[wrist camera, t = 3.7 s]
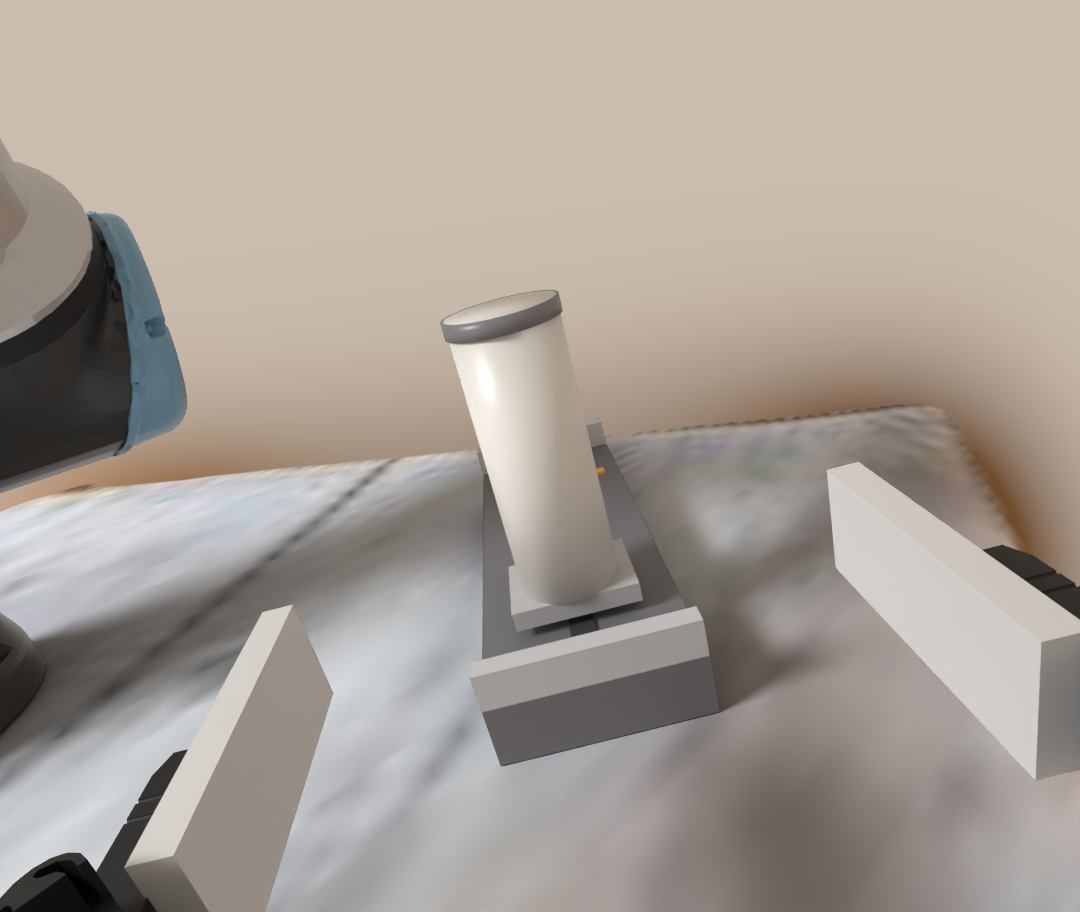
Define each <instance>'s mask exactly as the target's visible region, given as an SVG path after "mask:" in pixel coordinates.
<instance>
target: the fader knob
mask: <svg viewBox="0 0 1080 912" xmlns="http://www.w3.org/2000/svg"><path fill="white" fill-rule="evenodd" d="M561 312H562V306H561V301H560V297H559V293H558V291H556V290H540V291H533V292H526V293H521V294H516V295H511V296H507V297H503V298H499V299H495V300H492V301H488V302H484V303H481V304H478V305H475V306H472V307H469V308H466V309H464V310H461V311H459V312H456V313H454V314H452V315H450V316H448V317H446V318H445V319H443V320H442V321H441V322H440V324H441V327H442V331H443V334H444V337H445V341H446V342H448V343H449V344H450V347H451V350H452V354H453V357H454V361H455V364H456V367H457V371H458V374H459V377H460V381H461V384H462V388H463V391H464V394H465V398H466V401H467V405H468V408H469V411H470V414H471V418H472V421H473V425H474V428H475V431H476V435H477V438H478V442H479V445H480V448H481V452H482V455H483V458H484V462H485V465H486V468H487V472H488V475H489V479H490V482H491V485H492V489H493V492H494V495H495V499H496V502H497V505H498V509H499V512H500V516H501V519H502V522H503V526H504V529H505V532H506V536H507V539H508V542H509V546H510V549H511V553H512V556H513V559H514V563H515V565H513V566H509V583H510V600H511V615H512V618H513V622H514V625H515V628H516V631H517V632H519V631H523V630H526V629H530V628H534V627H538V626H542V625H546V624H550V623H554V622H558V621H562V620H566V619H570V618H574V617H578V616H582V615H586V614H590V613H594V612H598V611H602V610H606V609H610V608H614V607H618V606H622V605H626V604H630V603H634V602H638V601H642V600H643V597H642V593H641V588H640V584H639V581H638V578H637V576H636V573H635V571H634V568H633V566H632V563H631V561H630V558H629V556H628V553H627V551H626V548H625V546H624V543H623V541H622V538H620V539H616V540H613V539H612V535H611V531H610V526H609V522H608V518H607V513H606V509H605V505H604V500H603V496H602V492H601V487H600V483H599V479H598V474H597V470H596V466H595V461H594V457H593V453H592V448H591V444H590V440H589V435H588V431H587V427H586V422H585V418H584V414H583V409H582V405H581V401H580V397H579V392H578V388H577V384H576V379H575V375H574V371H573V366H572V362H571V358H570V353H569V349H568V345H567V340H566V336H565V332H564V327H563V323H562V319H561V315H560V313H561Z"/></svg>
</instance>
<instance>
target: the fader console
mask: <svg viewBox="0 0 1080 912" xmlns="http://www.w3.org/2000/svg"><path fill="white" fill-rule="evenodd" d="M585 422H586V427H587V431H588V435H589V440H590V444H591V448H592V453H593V457H594V461H595V466H596V470H597V474H598V479H599V483H600V487H601V492H602V496H603V500H604V505H605V509H606V513H607V518H608V522H609V526H610V531H611V535H612V539H613V540H616V539H620V538H622V541H623V543H624V546H625V548H626V551H627V553H628V556H629V558H630V561H631V563H632V566H633V568H634V571H635V573H636V576H637V578H638V581H639V584H640V588H641V593H642V597H643V600H642V601H638V602H634V603H630V604H626V605H622V606H618V607H614V608H610V609H606V610H602V611H598V612H594V613H590V614H586V615H582V616H578V617H574V618H570V619H566V620H562V621H558V622H554V623H550V624H546V625H542V626H538V627H534V628H530V629H526V630H523V631H519V632H517V631H516V628H515V625H514V622H513V618H512V615H511V600H510V583H509V566H513V565H515V563H514V559H513V556H512V553H511V549H510V546H509V542H508V539H507V536H506V532H505V529H504V526H503V522H502V519H501V516H500V512H499V509H498V505H497V502H496V499H495V495H494V492H493V489H492V485H491V482H490V479H489V475H488V472H487V468H486V465H485V462H484V458H483V455H482V452H481V448H480V449H477V454H478V458H479V461H480V464H481V468H482V471H483V474H484V505H483V641H482V660H479V661H475V662H471V663H470V680H471V683H472V686H473V688H474V691H475V694H476V697H477V700H478V703H479V705H480V708H481V711H482V714H483V717H484V720H485V722H486V725H487V728H488V731H489V734H490V737H491V739H492V742H493V745H494V748H495V751H496V754H497V757H498V759H499V762H500V765H501V766H503V765H507V764H511V763H515V762H519V761H523V760H527V759H531V758H535V757H539V756H544V755H548V754H552V753H556V752H560V751H564V750H568V749H572V748H576V747H580V746H584V745H588V744H592V743H596V742H600V741H604V740H608V739H612V738H616V737H620V736H624V735H628V734H632V733H636V732H640V731H644V730H648V729H652V728H656V727H660V726H664V725H668V724H672V723H677V722H681V721H685V720H689V719H693V718H697V717H701V716H705V715H709V714H713V713H717V712H720V708H719V703H718V697H717V692H716V687H715V681H714V676H713V670H712V665H711V659H710V654H709V648H708V643H707V637H706V632H705V627H704V621H703V618H702V616H701V614H700V612H699V610H698V609H697V607H696V606H694V607H690V608H686V606H685V604H684V602H683V600H682V598H681V596H680V594H679V592H678V590H677V587H676V585H675V583H674V581H673V579H672V577H671V575H670V573H669V571H668V569H667V567H666V565H665V563H664V561H663V559H662V557H661V555H660V553H659V551H658V549H657V547H656V545H655V543H654V540H653V538H652V536H651V534H650V532H649V530H648V528H647V526H646V524H645V522H644V520H643V518H642V516H641V514H640V512H639V510H638V508H637V506H636V504H635V502H634V500H633V498H632V496H631V494H630V491H629V489H628V487H627V485H626V483H625V481H624V479H623V477H622V475H621V473H620V471H619V469H618V467H617V465H616V463H615V461H614V459H613V457H612V455H611V453H610V451H609V449H608V447H607V444H606V441H605V437H604V432H603V428H602V424H601V420H600V418H597V419H593V420H589V421H585Z"/></svg>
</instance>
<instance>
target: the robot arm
mask: <svg viewBox="0 0 1080 912" xmlns="http://www.w3.org/2000/svg"><path fill="white" fill-rule="evenodd" d="M186 409H187V395H186V389H185V383H184V379H183V375H182V371H181V367H180V363H179V360H178V357H177V353H176V349H175V346H174V344H173V340H172V337H171V334H170V332H169V330H168V327H167V326H166V325H165V318H164V315H163V312H162V309H161V305H160V301H159V298H158V295H157V292H156V289H155V286H154V284H153V281H152V278H151V276H150V273H149V271H148V268H147V266H146V263H145V261H144V258H143V256H142V253H141V251H140V249H139V247H138V244H137V242H136V240H135V238H134V236H133V234H132V232H131V230H130V229H129V227H128V225H127V224H126V223H125V221H124V220H123V219H122V218H120V217H119V216H117V215H114V214H109V213H104V214H98V213H96V212H92V211H89V212H87V213H85V211H84V209H83V208H82V206H81V204H80V203H79V202H78V201H77V199H76V198H75V197H74V196H73V195H72V194H71V193H70V191H69V190H68V189H67V188H66V187H65V186H63V185H62V184H61V183H59V182H58V181H57V180H55V179H54V178H52V177H51V176H49V175H47V174H45V173H43V172H41V171H39V170H37V169H35V168H32V167H30V166H27V165H24V164H22V163H18V162H14V161H12V158H11V157H10V155H9V153H8V152H7V150H6V148H5V146H4V145H3V143H2V141H1V139H0V493H3V492H6V491H9V490H12V489H15V488H18V487H21V486H24V485H27V484H30V483H33V482H36V481H39V480H42V479H45V478H48V477H51V476H54V475H57V474H60V473H63V472H66V471H69V470H72V469H75V468H78V467H81V466H84V465H87V464H90V463H93V462H96V461H99V460H102V459H105V458H108V457H111V456H120V455H123V454H125V453H126V452H128V451H129V450H130V449H131V448H132V447H133V446H135V445H138V444H140V443H143V442H145V441H148V440H150V439H153V438H155V437H158V436H161V435H163V434H165V433H168V432H170V431H172V430H173V429H175V428H176V427H177V426H178V425H179V424H180V422H181V421H182V419H183V418H184V416H185V413H186ZM827 478H828V489H829V500H830V511H831V522H832V533H833V544H834V555H835V566H836V569H837V570H838V571H839V572H840V573H841V574H842V575H843V576H844V577H845V578H846V579H847V580H848V581H849V582H850V583H851V585H852V586H853V587H854V588H855V589H856V590H857V591H858V592H859V593H860V594H861V595H862V596H863V597H864V598H865V599H866V600H867V602H868V603H869V604H870V605H871V606H872V607H873V608H874V609H875V610H876V611H877V612H878V613H879V614H880V615H881V616H882V618H883V619H884V620H885V621H886V622H887V623H888V624H889V625H890V626H891V627H892V628H893V629H894V630H895V631H896V632H897V633H898V635H899V636H900V637H901V638H902V639H903V640H904V641H905V642H906V643H907V644H908V645H909V646H910V647H911V648H912V649H913V650H914V652H915V653H916V654H917V655H918V656H919V657H920V658H921V659H922V660H923V661H924V662H925V663H926V664H927V665H928V666H929V668H930V669H931V670H932V671H933V672H934V673H935V674H936V675H937V676H938V677H939V678H940V679H941V680H942V681H943V682H944V683H945V685H946V686H947V687H948V688H949V689H950V690H951V691H952V692H953V693H954V694H955V695H956V696H957V697H958V698H959V699H960V700H961V702H962V703H963V704H964V705H965V706H966V707H967V708H968V709H969V710H970V711H971V712H972V713H973V714H974V715H975V716H976V718H977V719H978V720H979V721H980V722H981V723H982V724H983V725H984V726H985V727H986V728H987V729H988V730H989V731H990V732H991V733H992V735H993V736H994V737H995V738H996V739H997V740H998V741H999V742H1000V743H1001V744H1002V745H1003V746H1004V747H1005V748H1006V749H1007V750H1008V752H1009V753H1010V754H1011V755H1012V756H1013V757H1014V758H1015V759H1016V760H1017V761H1018V762H1019V763H1020V764H1021V765H1022V766H1023V768H1024V769H1025V770H1026V771H1027V772H1028V773H1029V774H1030V775H1031V776H1032V777H1033V778H1034V779H1035V780H1039V779H1043V778H1047V777H1051V776H1055V775H1059V774H1063V773H1068V772H1072V771H1076V770H1080V586H1079V587H1076V585H1075V583H1074V582H1072V581H1071V580H1069V579H1068V578H1066V577H1065V576H1063V575H1062V574H1057V573H1056V571H1055V570H1054V569H1053V568H1051V567H1049V566H1048V565H1047V564H1045V563H1043V562H1042V561H1040V560H1039V559H1037V558H1036V557H1034V556H1033V555H1030V554H1027V553H1024V552H1021V551H1018V550H1016V549H1013V548H1010V547H1007V546H1004V545H1000V546H996V547H992V548H988V549H984V550H981V549H980V548H979V547H977V546H976V545H974V544H973V543H972V542H970V541H969V540H967V539H966V538H965V537H963V536H962V535H960V534H959V533H958V532H956V531H955V530H953V529H952V528H950V527H949V526H948V525H946V524H945V523H943V522H942V521H941V520H939V519H938V518H936V517H935V516H934V515H932V514H931V513H929V512H928V511H927V510H925V509H924V508H922V507H921V506H920V505H918V504H917V503H915V502H914V501H913V500H911V499H910V498H908V497H907V496H906V495H904V494H903V493H901V492H900V491H899V490H897V489H896V488H894V487H893V486H892V485H890V484H889V483H887V482H886V481H885V480H883V479H882V478H880V477H879V476H878V475H876V474H875V473H873V472H872V471H871V470H869V469H868V468H866V467H865V466H864V465H862V464H861V463H859V462H856V463H852V464H848V465H844V466H840V467H836V468H832V469H828V470H827ZM44 673H45V663H44V660H43V658H42V657H41V655H40V654H39V652H38V651H37V649H36V647H35V646H34V644H33V643H32V641H31V640H30V638H29V637H28V635H27V634H26V632H25V631H24V630H23V629H22V628H21V627H20V626H19V625H17V624H16V623H14V622H13V621H11V620H10V619H9V618H7V617H6V616H4V615H3V614H2V613H0V732H1V731H2V730H3V729H4V728H5V727H6V726H7V725H8V724H9V723H10V722H11V721H12V720H13V719H14V718H15V717H16V716H17V715H18V713H19V712H20V711H21V710H22V709H23V708H24V707H25V705H26V704H27V703H28V702H29V700H30V699H31V698H32V696H33V695H34V693H35V692H36V690H37V689H38V687H39V685H40V683H41V681H42V679H43V676H44ZM332 695H333V692H332V689H331V687H330V685H329V683H328V681H327V678H326V676H325V674H324V672H323V670H322V667H321V665H320V663H319V661H318V658H317V656H316V654H315V652H314V650H313V647H312V645H311V643H310V641H309V638H308V636H307V634H306V632H305V630H304V627H303V625H302V623H301V621H300V619H299V616H298V614H297V612H296V610H295V607H294V605H289V606H285V607H281V608H277V609H273V610H269V611H265V612H262V614H261V616H260V618H259V620H258V621H257V623H256V625H255V627H254V629H253V631H252V632H251V634H250V636H249V638H248V640H247V642H246V644H245V645H244V647H243V649H242V651H241V653H240V655H239V656H238V658H237V660H236V662H235V664H234V666H233V668H232V669H231V671H230V673H229V675H228V677H227V679H226V680H225V682H224V684H223V686H222V688H221V690H220V692H219V693H218V695H217V697H216V699H215V701H214V703H213V704H212V706H211V708H210V710H209V712H208V714H207V716H206V717H205V719H204V721H203V723H202V725H201V727H200V728H199V730H198V732H197V734H196V736H195V738H194V739H193V741H192V743H191V745H190V747H189V749H187V750H183V751H179V752H175V753H173V754H172V755H171V756H170V757H169V759H168V760H167V761H166V762H165V763H164V764H163V765H162V766H161V767H160V768H159V769H158V770H157V771H156V772H155V773H154V774H153V775H152V777H151V779H150V780H149V782H148V784H147V785H146V787H145V789H144V791H143V792H142V794H141V796H140V798H139V799H138V801H139V803H138V804H136V805H135V806H134V808H133V810H132V811H131V813H130V815H129V817H128V818H127V824H124V825H123V827H122V829H121V830H120V832H119V834H118V836H117V837H116V839H115V841H114V842H113V844H112V846H111V848H110V849H109V851H108V853H107V854H106V856H105V858H104V860H103V861H102V863H101V865H100V867H99V868H98V870H97V872H96V871H95V870H94V869H93V867H92V866H91V864H90V863H89V861H88V860H87V859H86V858H85V857H84V856H83V855H82V854H81V853H65V854H62V855H59V856H56V857H53V858H50V859H49V860H47V861H45V862H43V863H42V864H40V865H38V866H36V867H35V868H33V869H31V870H30V871H29V872H28V873H26V874H25V875H24V876H23V877H21V878H20V879H19V880H18V881H16V882H15V883H14V884H13V885H12V886H11V887H10V888H9V889H8V890H7V892H6V893H5V894H4V895H3V896H2V897H1V898H0V912H265V910H266V907H267V904H268V901H269V898H270V894H271V891H272V888H273V885H274V881H275V878H276V875H277V872H278V869H279V865H280V862H281V859H282V856H283V853H284V849H285V846H286V843H287V840H288V836H289V833H290V830H291V827H292V824H293V820H294V817H295V814H296V811H297V808H298V804H299V801H300V798H301V795H302V791H303V788H304V785H305V782H306V779H307V775H308V772H309V769H310V766H311V763H312V759H313V756H314V753H315V750H316V746H317V743H318V740H319V737H320V734H321V730H322V727H323V724H324V721H325V718H326V714H327V711H328V708H329V705H330V702H331V698H332Z"/></svg>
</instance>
